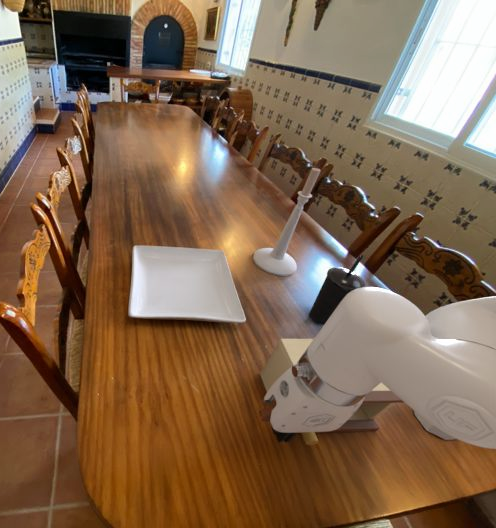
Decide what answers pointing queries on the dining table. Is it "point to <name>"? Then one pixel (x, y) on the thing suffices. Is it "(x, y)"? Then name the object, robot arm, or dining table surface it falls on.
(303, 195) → the candlestick
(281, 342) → the box with blue drawer
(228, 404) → the dining table surface
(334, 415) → the robot arm
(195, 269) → the square plate
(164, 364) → the dining table surface
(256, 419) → the dining table surface
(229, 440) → the dining table surface
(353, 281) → the drinking cup
